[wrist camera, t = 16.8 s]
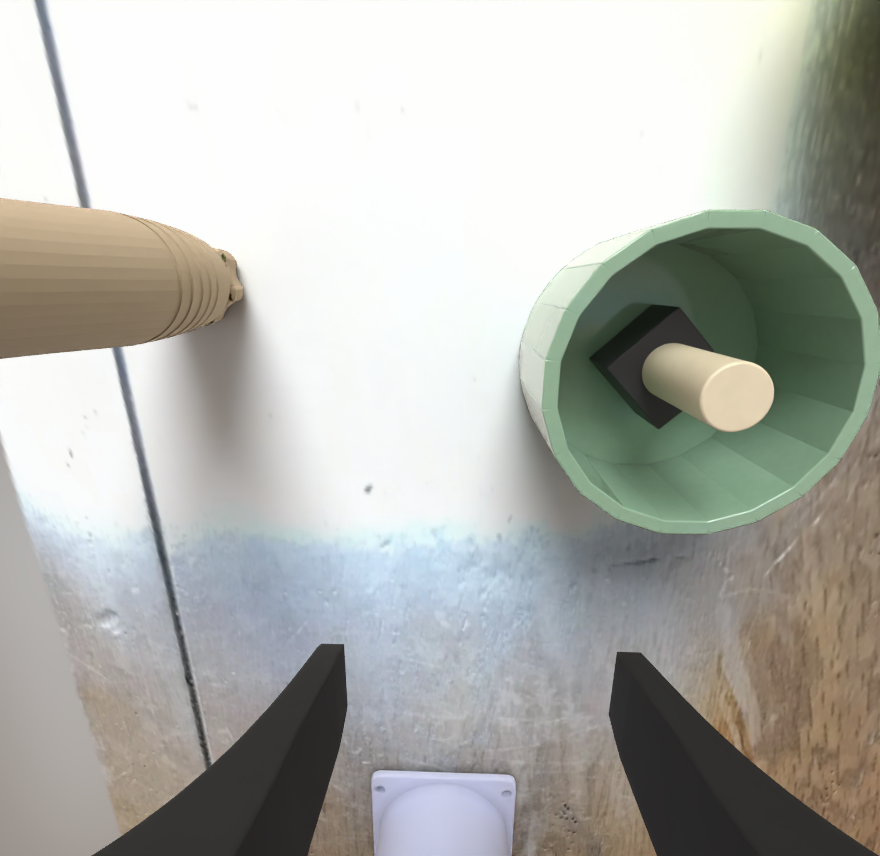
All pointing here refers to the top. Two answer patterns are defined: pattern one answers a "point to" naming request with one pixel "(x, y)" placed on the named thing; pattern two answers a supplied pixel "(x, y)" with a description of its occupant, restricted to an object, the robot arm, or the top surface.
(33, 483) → the top surface
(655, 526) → the beaker
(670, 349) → the brush
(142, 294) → the handle
